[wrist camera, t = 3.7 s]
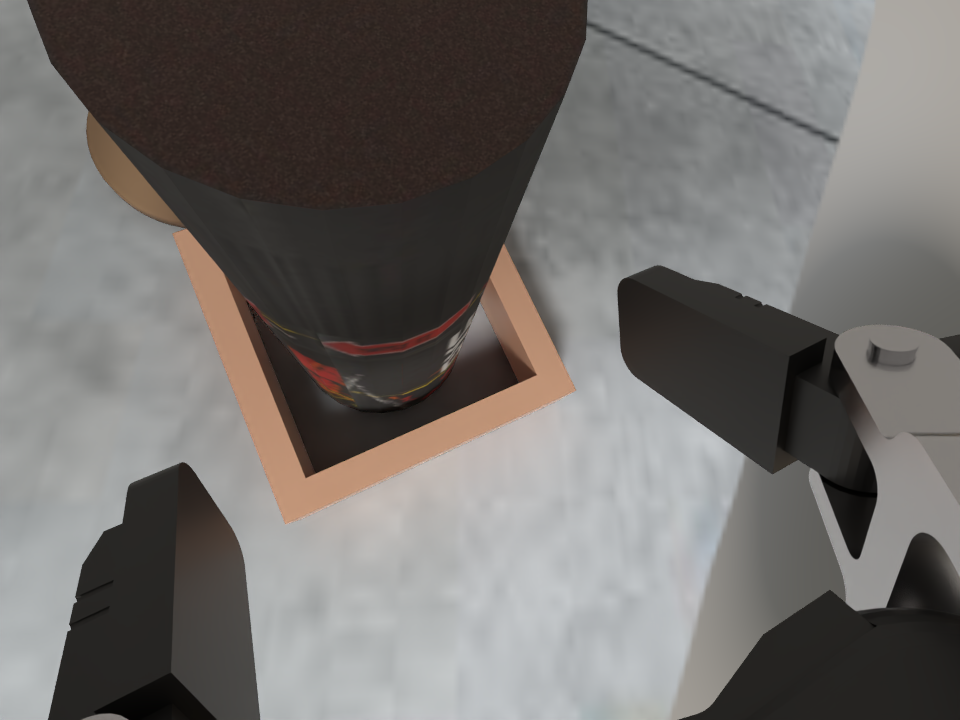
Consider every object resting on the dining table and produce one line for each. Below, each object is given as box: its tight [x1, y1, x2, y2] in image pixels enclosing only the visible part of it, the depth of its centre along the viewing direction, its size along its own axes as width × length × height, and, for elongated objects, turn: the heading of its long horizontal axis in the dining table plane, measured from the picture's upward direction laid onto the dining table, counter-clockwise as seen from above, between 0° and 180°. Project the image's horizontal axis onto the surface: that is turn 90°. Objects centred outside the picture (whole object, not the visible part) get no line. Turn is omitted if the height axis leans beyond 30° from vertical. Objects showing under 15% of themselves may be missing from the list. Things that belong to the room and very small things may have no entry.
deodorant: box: [27, 0, 588, 413], centre depth 13 cm, size 6×6×15 cm
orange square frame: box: [172, 229, 576, 524], centre depth 19 cm, size 10×10×2 cm
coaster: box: [86, 112, 186, 228], centre depth 21 cm, size 8×8×1 cm
